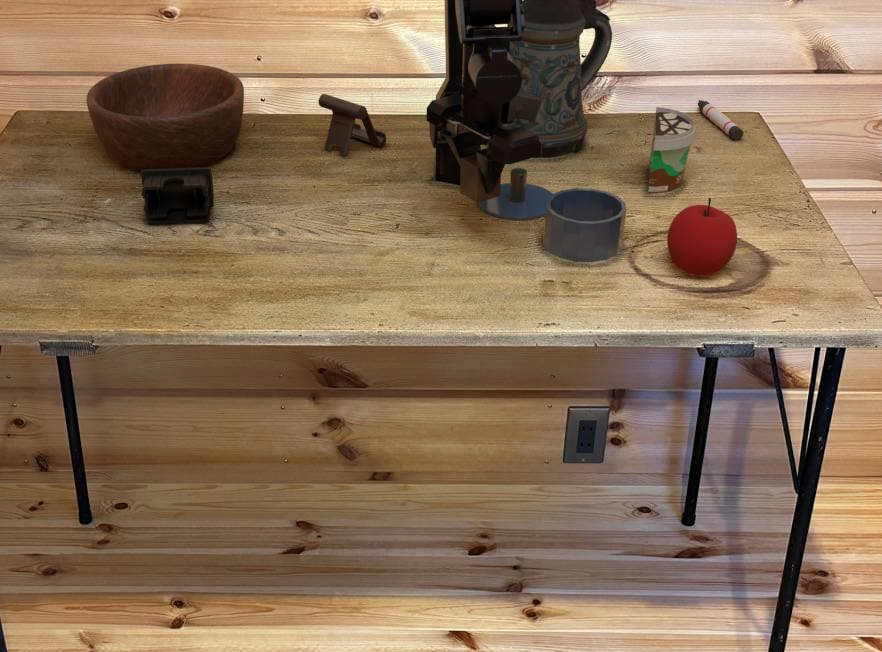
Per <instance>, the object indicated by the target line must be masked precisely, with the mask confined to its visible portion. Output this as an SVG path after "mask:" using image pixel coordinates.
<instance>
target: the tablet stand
mask: <svg viewBox="0 0 882 652" xmlns="http://www.w3.org/2000/svg"><path fill="white" fill-rule="evenodd" d="M318 105H319V107H320V108H324V109H326V110H330V111H331V113H332V115H331V119H330V122H329V123H330V124H329V127H328V131H327V132H328V134H327V136H326V141H325V145H324V149H325V150H326V151H328V152H332V151H333V148H334V145H335V146H338V147H339V153H338V154H339V156H342V157H347V155H348V151H349V147H350V143H351V139H352V138H353V139H357V140H360V141H363V142H365V143H369V144H371V145H373V146H375V147H380V148H383V147H384V146H385V145H386V143H387V133H386V132H384V131H381V130H378V129H375V127H374V125H373V122H372V120H371V117H370V115H369V112H368V110H367V109H368V108H367V107H366V106H364V105H361V104H358V103H355V102H351V101H349V100H346V99H342V98H339V97H337V96H333V95H331V94H327V93H322V94H321V95H320V96H319V98H318ZM356 119H357V120H360V121H361V122H362V125H363V127H364V129H363V128H362V127H361V126H362V125H361V124H360V123H357V122H356Z"/></svg>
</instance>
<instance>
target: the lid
mask: <svg viewBox="0 0 882 652" xmlns="http://www.w3.org/2000/svg"><path fill="white" fill-rule="evenodd" d="M527 182H528V170H527V169H525V168H521V167H516V168H515V167H514V168H512V169H511V170H510V177H509V183H508V182H507V183H501V187H500V196H498V197H495V198H492V199H489V200H485V201H482V202H479V203H477V204H478V206H479V208H480V209H481V210H482V211H483V212H484V213H486V214H488V215H491V216H492V217H496V218H499V219H504V220H510V221H529V220H536V219H540V218H543V217H545V205H546V200H547V199H548V198H549V197H550V196H551V195H552V194H554V193H552V192H551V190H549V189H547V188H545V187H543V186H539V185H535V184H531V183H527Z"/></svg>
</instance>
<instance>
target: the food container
mask: <svg viewBox="0 0 882 652" xmlns="http://www.w3.org/2000/svg"><path fill="white" fill-rule="evenodd" d="M696 128H697V127H696V125H695V121H694V120H693V118H692V117H691V116H690V115H688V114H687V113H685V112H682V111H681V110H677V109H673V108H668V107H662V106H661V107H659V106H657V107H655V114H654V123H653V129H652V130H653V132H652V138H651V139H652V140H651V141H652V142H651V148H650V156H649V164H648V169H649V170H648V190H647V194H662V193H663V194H665V193H669V192H672V191H676V190H678V189H679V188H680V187H681V186H682V183H683V179H684V176H685V175H684V173H685V170H686V165H687V161H688V156H689V152H690V148H691V145H692V144H694V142H696V140H697V129H696Z"/></svg>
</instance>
